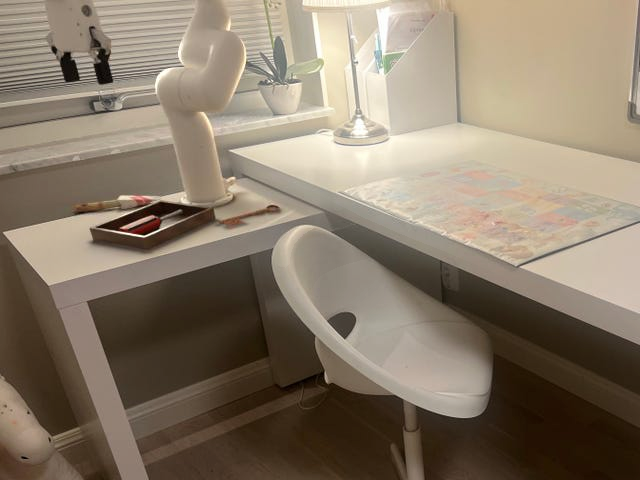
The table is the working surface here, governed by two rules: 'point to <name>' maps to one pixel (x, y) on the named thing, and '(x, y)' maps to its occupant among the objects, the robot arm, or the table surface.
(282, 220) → the table surface
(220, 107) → the robot arm
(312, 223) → the table surface
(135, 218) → the wooden tray
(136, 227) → the screwdriver
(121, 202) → the paintbrush
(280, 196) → the table surface
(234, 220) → the key
